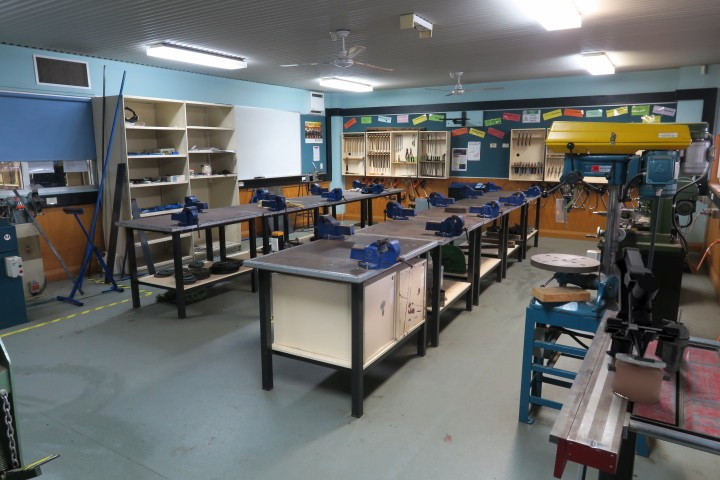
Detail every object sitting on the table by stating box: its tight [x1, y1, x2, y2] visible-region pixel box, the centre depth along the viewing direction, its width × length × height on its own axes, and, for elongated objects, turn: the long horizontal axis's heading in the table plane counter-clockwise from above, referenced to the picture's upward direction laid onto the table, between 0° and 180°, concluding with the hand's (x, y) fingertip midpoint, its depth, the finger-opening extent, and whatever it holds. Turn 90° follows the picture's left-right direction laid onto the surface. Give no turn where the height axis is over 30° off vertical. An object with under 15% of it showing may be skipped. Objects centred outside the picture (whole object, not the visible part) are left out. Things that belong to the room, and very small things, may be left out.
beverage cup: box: [661, 308, 691, 373], centre depth 151 cm, size 7×7×20 cm
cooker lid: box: [614, 353, 666, 369], centre depth 135 cm, size 12×12×2 cm
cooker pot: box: [606, 358, 672, 405], centre depth 137 cm, size 13×16×8 cm
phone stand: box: [654, 318, 685, 358], centre depth 163 cm, size 9×6×12 cm, turn 138°
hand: (641, 357), depth 135 cm, fingers closed
